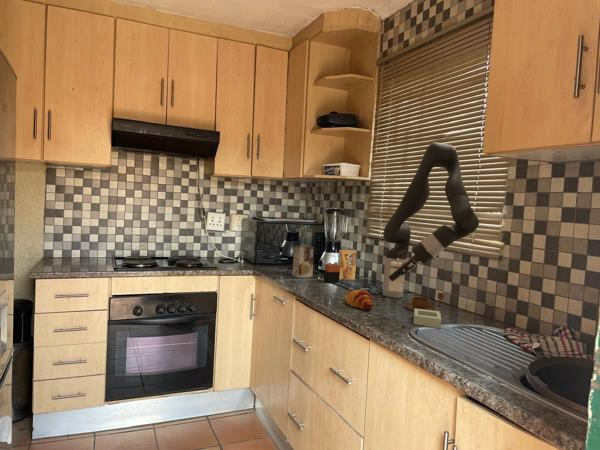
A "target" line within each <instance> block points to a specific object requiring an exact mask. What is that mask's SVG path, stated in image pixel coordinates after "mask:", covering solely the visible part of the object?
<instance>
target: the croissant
mask: <svg viewBox="0 0 600 450" xmlns="http://www.w3.org/2000/svg"><path fill="white" fill-rule="evenodd" d="M344 299H345V300H344V301H345V304H348V305H349V306H350V307H354V308H358V309H361V310H367V311H368V310H371V309H372V308H373V306H374V304H373V299H372V294H370V293H369V292H368V291H366V290H364V289H355V290H354V289H353V290H349V291H348V292H347V293H346V294H345V298H344Z"/></svg>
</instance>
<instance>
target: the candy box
mask: <svg viewBox="0 0 600 450" xmlns="http://www.w3.org/2000/svg"><path fill="white" fill-rule="evenodd" d="M357 256H358V251H357V250H353V249H350V250H349V249H339V251H338V258H337V259H338V261H337V263H338V265H340V277H339V280H353V281H354V280H355V278H356V267H357Z"/></svg>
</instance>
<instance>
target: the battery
mask: <svg viewBox="0 0 600 450" xmlns="http://www.w3.org/2000/svg"><path fill="white" fill-rule="evenodd" d="M323 276H324V277H323V278H324V279H323V282H325V283H327V284H339V283H340V279H339V277H340V265H338V262H333V263H332V262H328V263H325V264H324V274H323Z"/></svg>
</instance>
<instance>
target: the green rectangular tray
mask: <svg viewBox="0 0 600 450" xmlns="http://www.w3.org/2000/svg"><path fill="white" fill-rule="evenodd" d="M414 308H415V307H414ZM441 315H442V314H441V311H438V310H435V311H432V310H431V309H425V310H424V309H416V308H415V309H414V311H413V325H417V326H423V325H424V326H425V327H431V328H439V329H441V328H442V320H443V319H442V316H441ZM424 326H423V327H424Z"/></svg>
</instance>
